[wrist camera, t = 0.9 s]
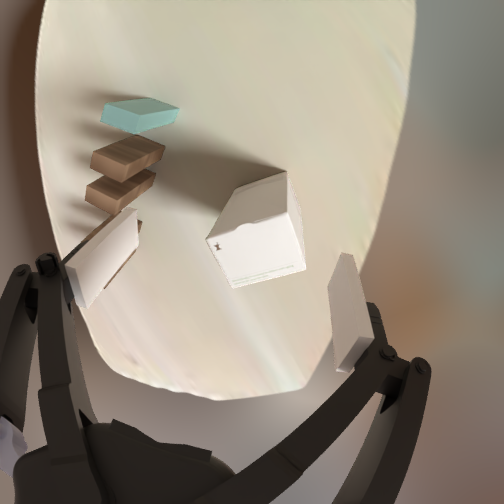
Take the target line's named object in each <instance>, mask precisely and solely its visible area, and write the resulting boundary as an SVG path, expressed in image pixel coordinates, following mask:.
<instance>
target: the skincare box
mask: <svg viewBox="0 0 504 504" xmlns="http://www.w3.org/2000/svg"><path fill="white" fill-rule="evenodd" d="M205 240H206V242H207V244H208V246H209V247H210V249H211V251H212V253H213V255H214V257H215V258H216V260H217V262H218V264H219V266H220V267H221V269H222V271H223V273H224V275H225V277H226V278H227V280H228V282H229V284H230V286H231V288H232V289H233V288H237V287H241V286H245V285H249V284H253V283H257V282H261V281H264V280H268V279H272V278H276V277H280V276H284V275H288V274H292V273H296V272H299V271H303V270H306V261H305V249H304V238H303V228H302V217H301V209H300V205H299V202H298V200H297V197H296V194H295V191H294V189H293V186H292V183H291V181H290V178H289V175H288V173H287V171H286V172H282V173H279V174H276V175H273V176H270V177H267V178H264V179H261V180H258V181H255V182H252V183H249V184H247V185H244V186H241V187H239V188H236V189H235V190H234V192H233V193H232V195H231V197H230V199H229V200H228V202H227V204H226V206H225V207H224V209H223V211H222V212H221V214H220V216H219V218H218V219H217V221H216V223H215V225H214V226H213V228H212V230H211V232H210V233H209V235H208V236H207V238H206V239H205Z"/></svg>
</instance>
